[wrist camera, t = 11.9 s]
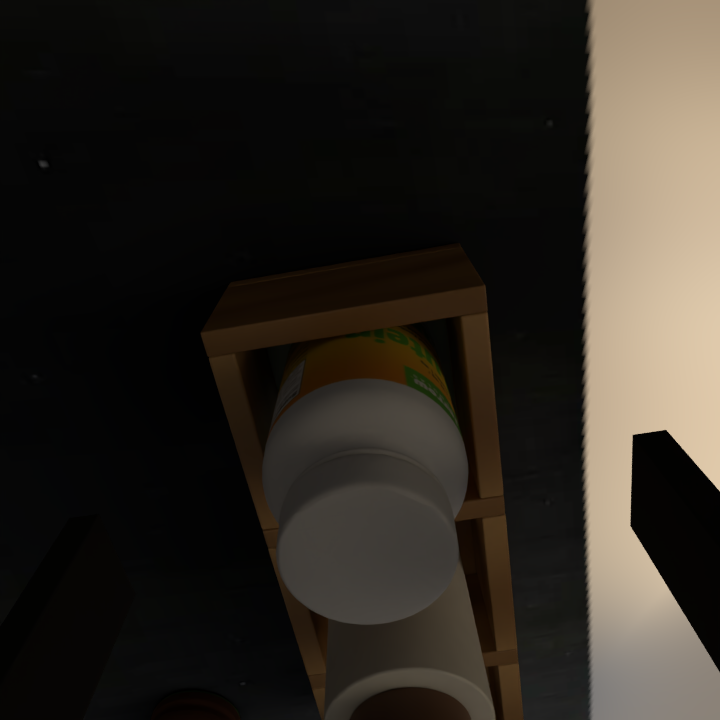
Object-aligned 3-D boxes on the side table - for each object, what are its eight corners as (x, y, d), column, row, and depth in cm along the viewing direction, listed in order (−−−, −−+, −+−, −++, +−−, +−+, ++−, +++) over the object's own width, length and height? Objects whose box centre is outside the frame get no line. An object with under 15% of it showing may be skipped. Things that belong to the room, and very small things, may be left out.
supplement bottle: (464, 329, 21) (542, 511, 12) (396, 447, 23) (422, 673, 14) (323, 267, 20) (299, 417, 11) (265, 396, 22) (207, 606, 13)
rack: (229, 281, 21) (199, 333, 17) (459, 242, 21) (485, 285, 16) (346, 699, 31) (345, 797, 27) (504, 680, 30) (528, 776, 26)
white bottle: (338, 472, 24) (329, 713, 15) (462, 482, 24) (526, 725, 15) (327, 566, 26) (314, 827, 17) (441, 574, 26) (487, 836, 17)
